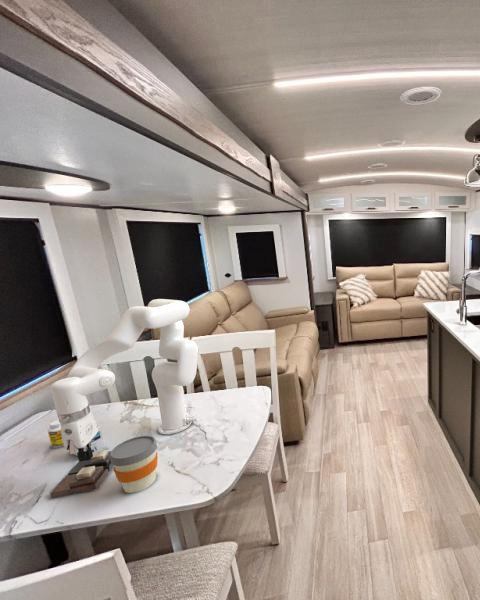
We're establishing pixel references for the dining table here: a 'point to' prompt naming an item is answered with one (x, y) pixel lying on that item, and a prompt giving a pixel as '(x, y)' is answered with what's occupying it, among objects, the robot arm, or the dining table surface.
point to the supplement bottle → (55, 434)
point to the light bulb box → (97, 442)
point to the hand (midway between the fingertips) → (86, 459)
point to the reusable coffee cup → (135, 463)
